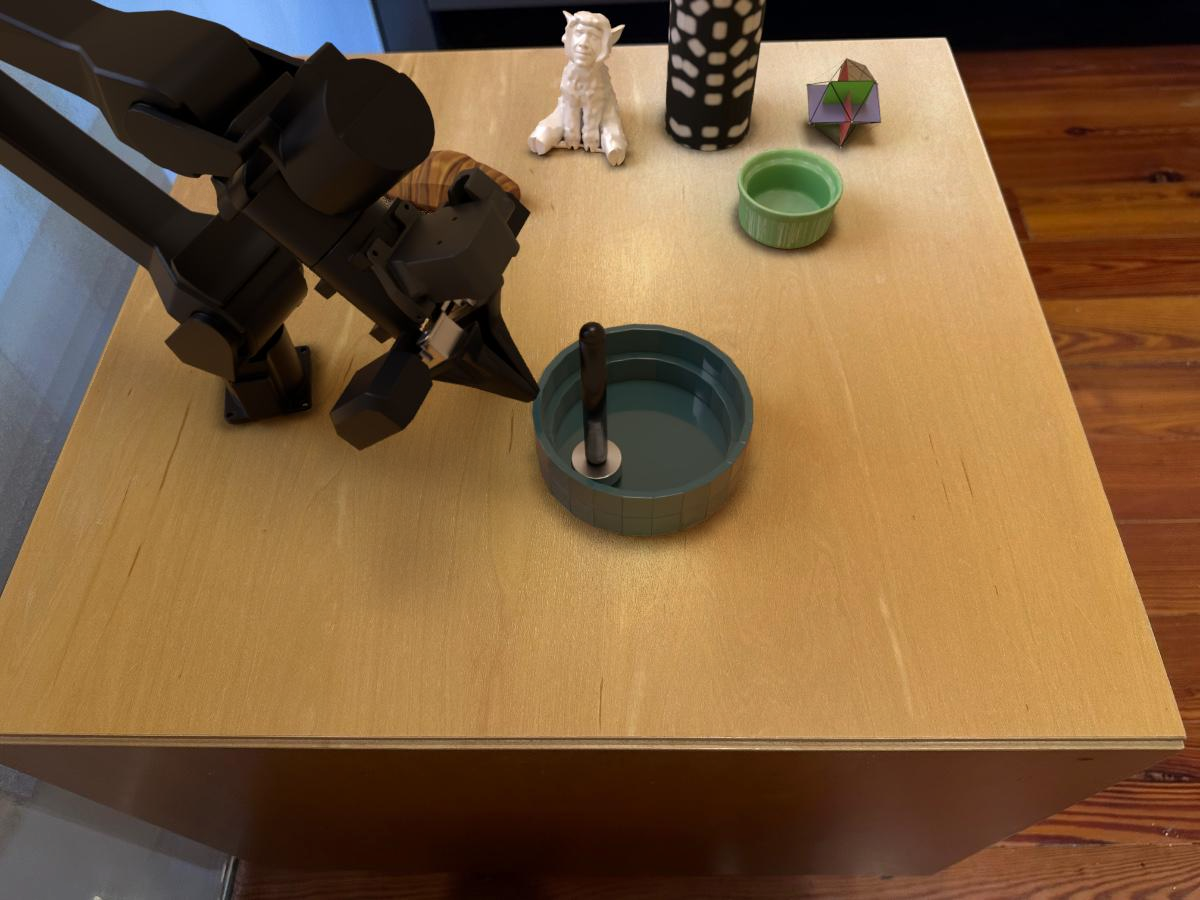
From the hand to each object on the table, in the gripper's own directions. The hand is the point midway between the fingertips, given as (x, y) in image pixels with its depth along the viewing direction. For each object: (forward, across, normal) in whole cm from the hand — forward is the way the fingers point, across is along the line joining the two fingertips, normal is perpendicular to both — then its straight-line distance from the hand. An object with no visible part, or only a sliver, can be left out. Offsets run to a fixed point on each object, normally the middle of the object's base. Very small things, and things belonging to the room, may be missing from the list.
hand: (534, 397), depth 60 cm
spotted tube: (+7, +44, +6) cm, 44 cm away
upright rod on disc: (+8, +1, +3) cm, 8 cm away
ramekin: (+14, +32, -1) cm, 35 cm away
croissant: (-7, +25, +20) cm, 33 cm away
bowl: (+10, +4, +2) cm, 11 cm away
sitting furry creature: (-1, +38, +14) cm, 41 cm away
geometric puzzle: (+16, +46, -3) cm, 49 cm away
